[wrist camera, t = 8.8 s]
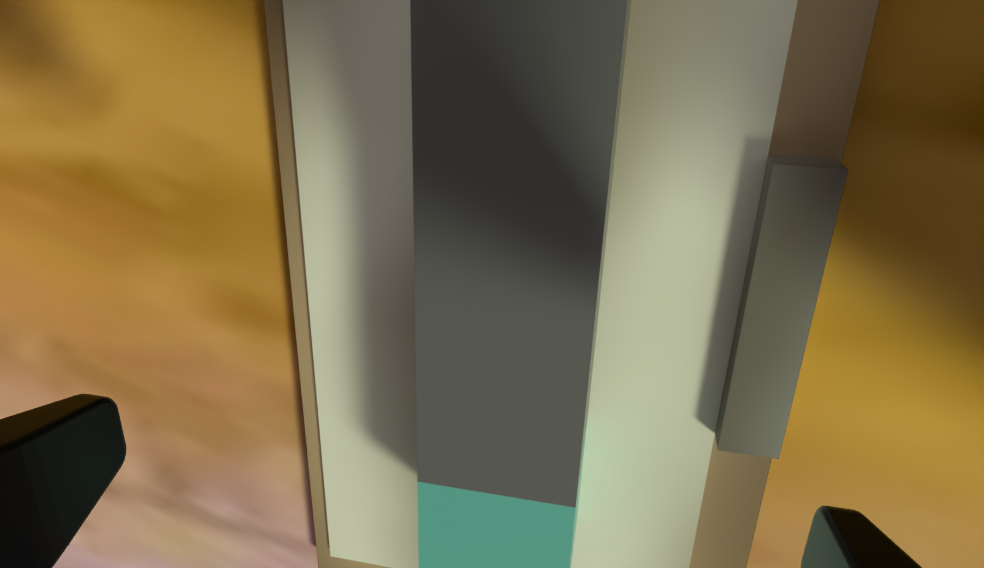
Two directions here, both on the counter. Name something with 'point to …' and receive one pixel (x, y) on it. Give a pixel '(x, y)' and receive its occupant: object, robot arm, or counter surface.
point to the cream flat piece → (626, 271)
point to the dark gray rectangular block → (508, 266)
